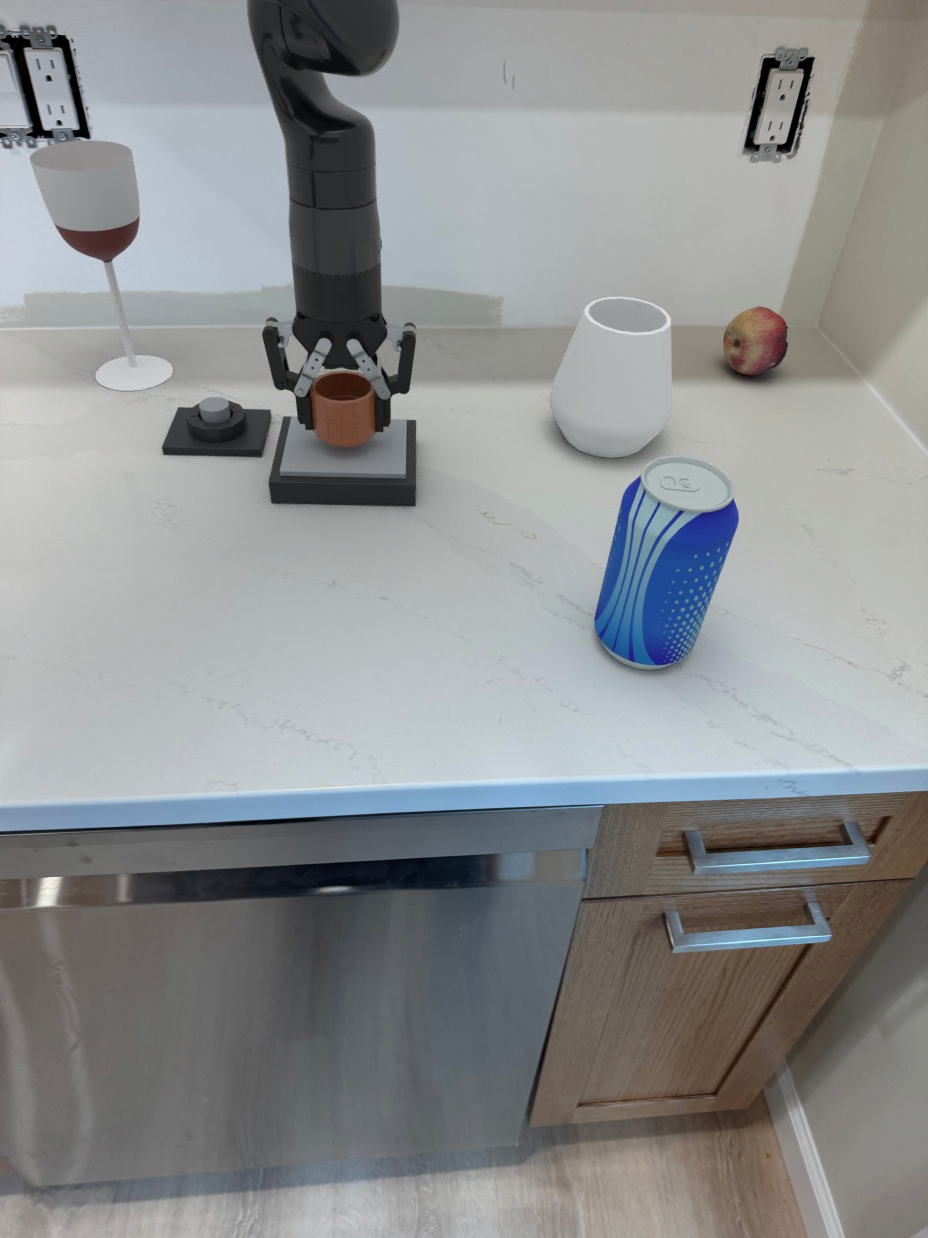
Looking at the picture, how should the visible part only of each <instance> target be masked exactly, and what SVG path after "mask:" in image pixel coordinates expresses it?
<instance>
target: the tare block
mask: <svg viewBox="0 0 928 1238" xmlns="http://www.w3.org/2000/svg"><path fill="white" fill-rule="evenodd" d="M226 400H227V401H228V402H229V407H230V413H231V417H230V419H228V420H227V421H225V422H221V423H206V422H204V421H203V420H202V418H201V413H200V408H199V404H200V402H199V403H197V404H195V405H193V406H191V407H189V406H188V407H187V406H178V407H177V410H176V412H175V413H174V416H173V419H172V420H171V423H170V426H169V428H168V431H167V434H166V436H165V438H164V441H163V443H162V446H161V451H162V454H163V455H178V456H179V455H182V456H183V455H185V456H219V457H220V456H221V457H223V456H226V457H262V456H263V452H264V448H265V445H266V444H265V443H266V440H267V436H268V433H269V428H270V423H271V419H272V410H271V409H264V408H262V409H261V408H244V407H242V405H241V404H240V403H237V402H234V401H232V400H228V399H226Z"/></svg>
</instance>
